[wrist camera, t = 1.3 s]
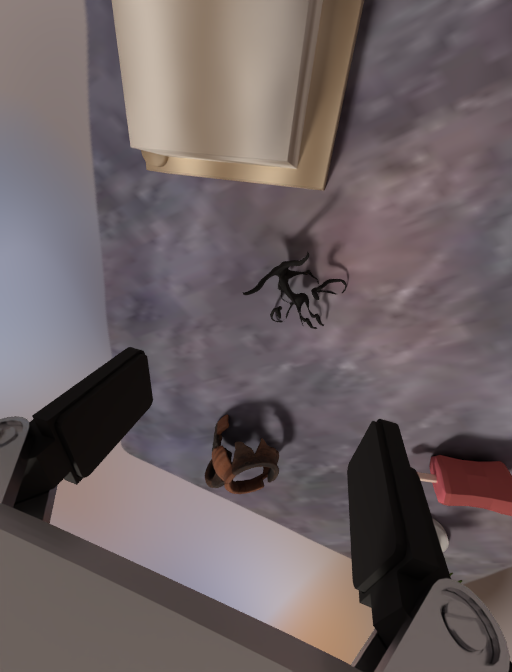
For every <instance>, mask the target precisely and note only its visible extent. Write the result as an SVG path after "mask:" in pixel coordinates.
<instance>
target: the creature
mask: <svg viewBox="0 0 512 672" xmlns="http://www.w3.org/2000/svg"><path fill="white" fill-rule="evenodd" d="M308 257H309V253H308V252H307V256H306V257H305V258H303V259H302V260H300V261H297V260H293V261H284V262H282V263H281V264H280V265H279V266H277V267H275V268H273V269H272V270H271V272H270V273H269V274H267V275H266V276H265V277H264V278H262V279H261V281H260V282H259V283H258V285H257V286H256V287H255V288H253V289H252V290H250V291H248V292H245V293H243V294H244V295H249V294H252V293H255V292H257V291H259V290H260V289H261V288H262V286H263V285H264V283H265V282H266V280H268V279H269V278H270V277H272V276H274V275H277V276H278V277H279V283H278V289H279V290H281V298H282V290H283V291H284V293H285V294H286V295H287V296H288V297H289V298H290V299H291V301H292V302H293V303H290V305H291V306H290V308H291V307H292V305H293V304H295V305H296V307H297V310H298V313H300V314H299V316H300V319H301V322H302V320H303V321H304V322H307V324H308V325H309V326H310V328H313V329H317V328H316V327H313V326H312V324H311V322H310V320H309V319H308V318H306V319H305V318H303V317H302V315H301V306H302V304H303V303H304V302H305V303H306V305H307V307H308V310H309V299H308V296H307V295H306V294H305V293H300V294H295V293H293V292H292V291H291V289H290V287H289V284H288V280H289V279H290V278H292V277H294V276H296V275H300V274H304V275H307V274H310V275H311V276H312V277H313V278H315V277H314V276H313V275H312V273H311V272H310V271H309V270H307V271H306V272H297V271H291V270H289V269H288V267H289V266H300V265H302V264H303V263H305V262H306V260H307V259H308ZM315 279H317V278H315ZM317 280H318V279H317ZM333 282H342V283H343V284H344V285H345V290H346V287H347V285H346V282H345V281H344V280H341V279H329V280H327V281H325V282H324V283H323V284H322V285H320V286H319V287H317V288H313V289H312V290H311V292H312V295H313V297H314V298H315V299H316V300H319V296H318V294H317V292H327V293H332V294H335V293H333V292H328V291H320V290H321V289H322V288H324V287H325V286H326V285H327V284H329V283H333ZM318 283H319V282H318ZM345 290H344V291H345ZM344 291H343V292H344ZM343 292H342V293H343ZM283 300H284V299H283ZM284 301H285V300H284ZM288 303H289V302H288ZM290 308H289V310H290ZM281 309H282V307H281V306H279V307H277V308H274V309H273V310H272V312H271V314H270V316H271V319H272V320H273V321H275V320H274V319H273V318H272V317H273V314H274V312H275V311H277V312H276V313H277V316H278V317H279V319H281V313H280V310H281ZM289 310H288V312H287V314H286V318H287V316H288V313H289ZM309 313H310V315H311V317H312V318H316V320H317V321H318V323H319V324H320V325H322V326H324V324H322V323H321V320H320V317H319V315H318V314H315V315H313V314H312V313H311V312H310V310H309ZM275 322H283V321H275ZM302 325H303V323H302Z"/></svg>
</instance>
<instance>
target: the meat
mask: <svg viewBox="0 0 512 672" xmlns="http://www.w3.org/2000/svg"><path fill="white" fill-rule="evenodd" d="M411 468H412V467H411ZM430 472H431V474H427V473H419V472H417V473H418V475H419V478H420V481H427V482H432V483H433V487H434V490H435V493H436V496H437V499H438V502H440V503H441V504H444V505H448V506H472V507H478V508H484V509H488V510H491V511H495V512H498V513H501V514H505V515H510V516H512V475H511V474H510V472H509V471H508V469H507V467H506V466H505V464H504V463H502V462H501V461H492V462H476V461H467V460H459V459H455V458H451V457H447V456H443V455H437V456H433V457H431V461H430Z"/></svg>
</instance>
